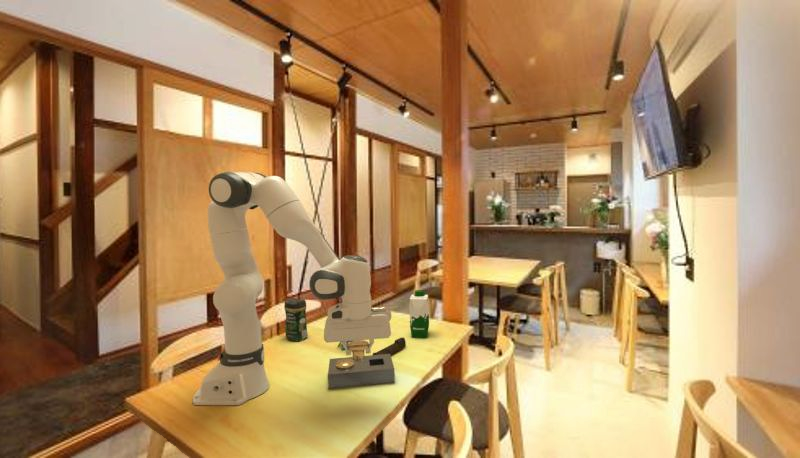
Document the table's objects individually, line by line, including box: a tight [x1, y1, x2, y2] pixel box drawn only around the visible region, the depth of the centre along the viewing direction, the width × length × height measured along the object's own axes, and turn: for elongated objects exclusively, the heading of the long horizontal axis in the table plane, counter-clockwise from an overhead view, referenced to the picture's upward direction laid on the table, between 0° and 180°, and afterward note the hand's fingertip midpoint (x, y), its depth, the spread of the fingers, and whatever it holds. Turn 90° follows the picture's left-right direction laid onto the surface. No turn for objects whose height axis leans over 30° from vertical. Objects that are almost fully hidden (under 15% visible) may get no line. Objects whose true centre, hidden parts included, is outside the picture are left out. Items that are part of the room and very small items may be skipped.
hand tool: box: [372, 337, 407, 356], centre depth 142 cm, size 19×4×5 cm, turn 140°
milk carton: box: [408, 289, 430, 339], centre depth 161 cm, size 9×9×20 cm
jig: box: [327, 354, 396, 390], centre depth 123 cm, size 22×12×6 cm, turn 98°
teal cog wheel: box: [337, 341, 352, 351], centre depth 149 cm, size 11×6×10 cm
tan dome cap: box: [347, 340, 370, 362], centre depth 107 cm, size 6×6×5 cm
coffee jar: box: [284, 297, 309, 342], centre depth 161 cm, size 10×8×19 cm
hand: (358, 353), depth 107 cm, fingers closed on tan dome cap, 4 cm apart
